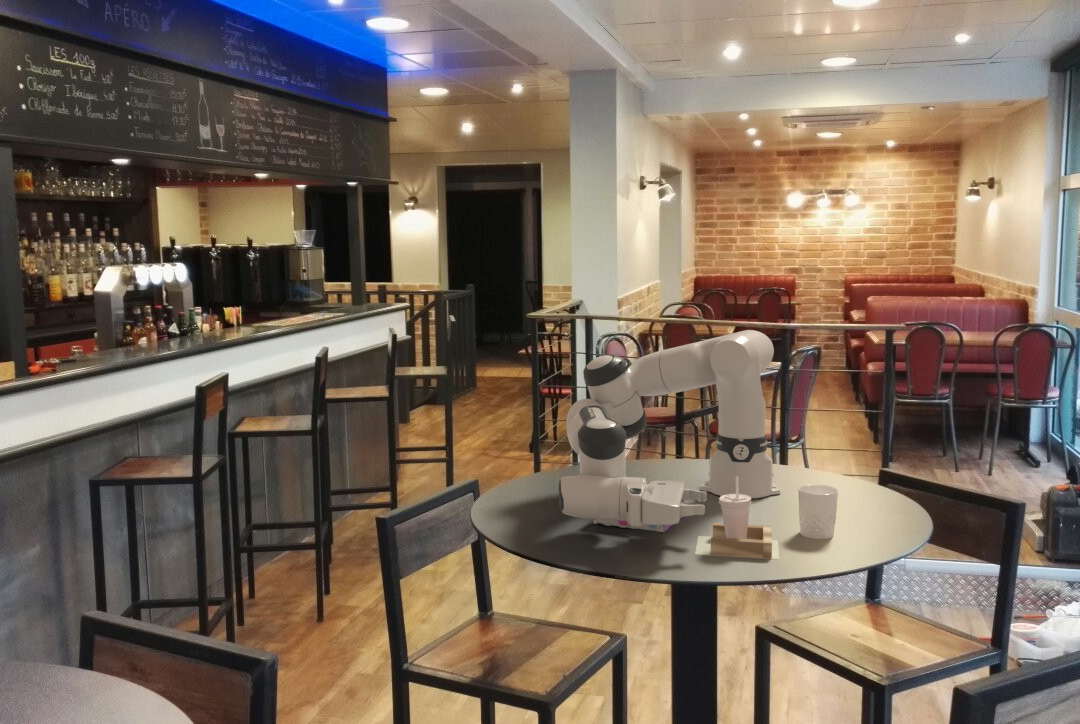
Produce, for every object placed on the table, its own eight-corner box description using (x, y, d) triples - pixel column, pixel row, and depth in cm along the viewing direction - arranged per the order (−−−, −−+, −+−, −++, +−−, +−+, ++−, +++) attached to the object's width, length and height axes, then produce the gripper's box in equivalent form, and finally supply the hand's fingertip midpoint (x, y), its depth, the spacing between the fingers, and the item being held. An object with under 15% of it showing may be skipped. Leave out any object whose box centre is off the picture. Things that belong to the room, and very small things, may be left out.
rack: (713, 537, 206) (713, 522, 205) (770, 540, 203) (771, 525, 203) (710, 554, 194) (710, 539, 194) (771, 558, 192) (772, 543, 192)
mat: (698, 538, 207) (698, 535, 207) (777, 542, 203) (777, 540, 203) (694, 556, 195) (694, 554, 195) (779, 561, 192) (779, 559, 192)
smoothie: (747, 551, 196) (744, 482, 194) (716, 548, 199) (713, 479, 197) (757, 541, 201) (754, 473, 199) (726, 538, 205) (723, 471, 203)
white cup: (806, 528, 213) (808, 482, 212) (842, 535, 208) (844, 488, 207) (790, 537, 207) (792, 490, 206) (827, 544, 202) (828, 496, 201)
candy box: (592, 525, 217) (663, 534, 209) (592, 498, 216) (664, 507, 208) (617, 509, 229) (686, 517, 221) (617, 484, 228) (686, 491, 220)
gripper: (641, 500, 212) (707, 504, 209) (630, 529, 192) (703, 533, 189) (642, 471, 211) (708, 474, 208) (630, 497, 191) (703, 501, 189)
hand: (705, 503), depth 199 cm, fingers open, 8 cm apart
